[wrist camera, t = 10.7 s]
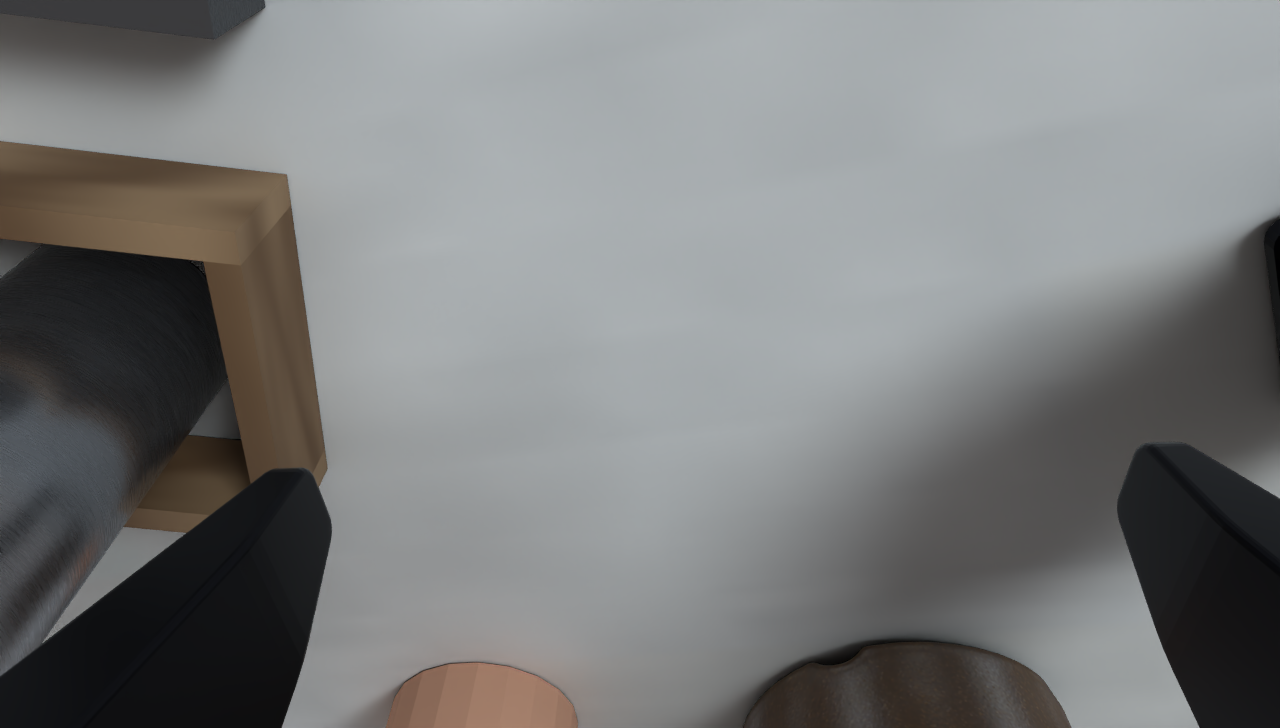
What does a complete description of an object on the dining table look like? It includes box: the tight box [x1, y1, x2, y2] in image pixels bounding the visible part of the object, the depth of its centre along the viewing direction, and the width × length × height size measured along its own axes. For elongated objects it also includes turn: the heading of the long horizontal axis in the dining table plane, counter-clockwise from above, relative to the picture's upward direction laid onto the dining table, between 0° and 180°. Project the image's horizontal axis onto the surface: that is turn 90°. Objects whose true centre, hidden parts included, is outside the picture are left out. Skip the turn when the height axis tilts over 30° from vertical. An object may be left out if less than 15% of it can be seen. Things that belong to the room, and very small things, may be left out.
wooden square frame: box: [0, 141, 328, 533], centre depth 22 cm, size 10×10×3 cm
